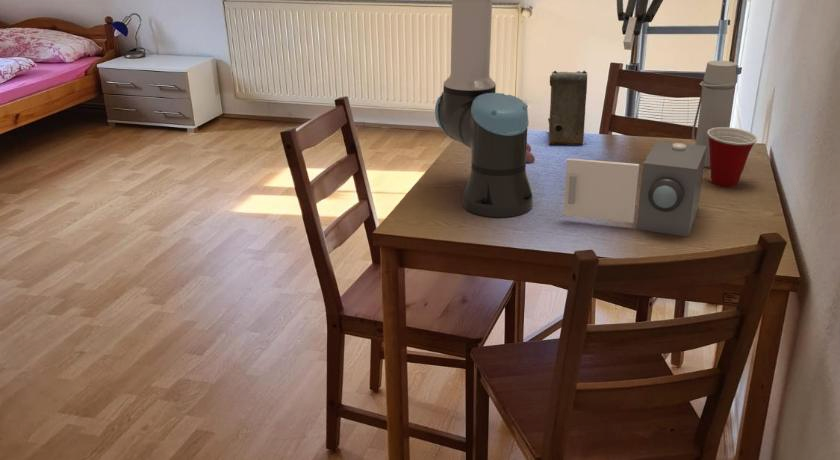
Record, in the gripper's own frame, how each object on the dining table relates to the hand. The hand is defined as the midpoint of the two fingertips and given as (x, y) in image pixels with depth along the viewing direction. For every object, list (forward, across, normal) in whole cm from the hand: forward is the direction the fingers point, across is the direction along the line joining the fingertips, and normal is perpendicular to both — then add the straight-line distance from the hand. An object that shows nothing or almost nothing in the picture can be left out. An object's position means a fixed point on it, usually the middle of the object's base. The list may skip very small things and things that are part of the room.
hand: (627, 45), depth 168 cm
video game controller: (+14, +26, -31) cm, 44 cm away
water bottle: (+5, -17, -40) cm, 44 cm away
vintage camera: (0, +21, -46) cm, 51 cm away
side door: (+39, -2, -4) cm, 39 cm away
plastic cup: (+15, -23, -31) cm, 41 cm away
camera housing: (+34, -14, -11) cm, 39 cm away
